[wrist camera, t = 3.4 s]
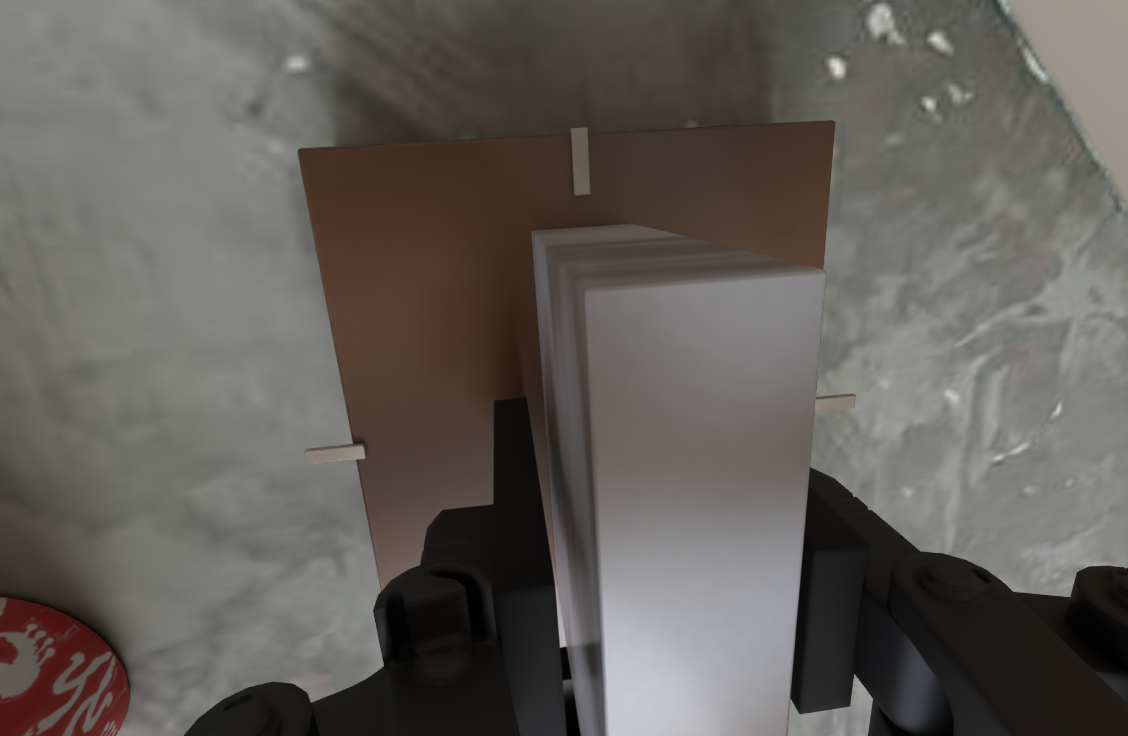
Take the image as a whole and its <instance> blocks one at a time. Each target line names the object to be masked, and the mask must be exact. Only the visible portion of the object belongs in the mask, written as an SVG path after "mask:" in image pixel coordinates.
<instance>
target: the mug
mask: <svg viewBox="0 0 1128 736" xmlns="http://www.w3.org/2000/svg"><path fill="white" fill-rule="evenodd" d="M128 705H129V687H128V681H127V676H126V674H125V670H124V668H123V666H122V665H121V664H120V661H119V659H118V658H117V656H116V655H115V654H114V652H113V651H112V649H111V648H110V647H109V645H107V644H106V643H105V642H104V641H103V640H102V639H101V638H100V637H99V636H98V635H97V634H96V633H94V632H93V631H92V630H91V629H89V628H88V627H86V626H85V625H84V624H82V623H81V622H79V621H77V620H75V619H74V618H72V617H70V616H68V615H66V614H64V613H62V612H59V611H57V610H55V609H52V608H49V607H46V606H43V605H40V604H36V603H32V602H28V601H24V600H18V599H13V598H6V597H0V736H116V734H117V733H118V731H119V729H120V727H121V725H122V723H123V721H124V719H125V716H126V714H127V710H128Z"/></svg>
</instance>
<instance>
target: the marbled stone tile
mask: <svg viewBox="0 0 1128 736" xmlns="http://www.w3.org/2000/svg"><path fill="white" fill-rule="evenodd" d="M532 246H533V260H534V273H535V287H536V300H537V314H538V327H539V340H540V354H541V367H542V381H543V394H544V408H545V421H546V435H547V448H548V461H549V475H550V488H551V502H552V515H553V529H554V542H555V555H556V569H557V582H558V594H559V601H560V607H561V613H562V620H563V626H564V632H565V639H566V645H567V651H568V658H569V664H570V670H571V677H572V683H573V689H574V696H575V702H576V708H577V715H578V721H579V727H580V734H581V736H787V731H788V719H789V707H790V695H791V683H792V671H793V660H794V648H795V636H796V624H797V612H798V601H799V589H800V577H801V565H802V553H803V542H804V530H805V518H806V506H807V494H808V483H809V471H810V459H811V447H812V435H813V423H814V412H815V400H816V388H817V376H818V364H819V353H820V341H821V329H822V317H823V305H824V294H825V282H826V272H825V271H824V270H822V269H819V268H815V267H811V266H807V265H802V264H798V263H794V262H790V261H786V260H782V259H777V258H773V257H769V256H765V255H761V254H757V253H752V252H748V251H744V250H740V249H736V248H731V247H727V246H723V245H719V244H715V243H711V242H706V241H702V240H698V239H694V238H690V237H686V236H681V235H677V234H673V233H669V232H665V231H661V230H656V229H652V228H648V227H644V226H640V225H635V224H623V225H608V226H594V227H579V228H565V229H550V230H535V231H532Z"/></svg>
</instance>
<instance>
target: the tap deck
mask: <svg viewBox="0 0 1128 736" xmlns="http://www.w3.org/2000/svg"><path fill="white" fill-rule="evenodd" d="M570 132H571V134H564V135H545V136H526V137H507V138H488V139H469V140H450V141H431V142H412V143H393V144H374V145H355V146H336V147H317V148H300V149H299V150H298V158H299V163H300V168H301V173H302V179H303V184H304V189H305V194H306V199H307V205H308V210H309V215H310V220H311V226H312V231H313V236H314V241H315V247H316V252H317V257H318V262H319V268H320V273H321V278H322V283H323V288H324V294H325V299H326V304H327V309H328V315H329V320H330V325H331V330H332V336H333V341H334V346H335V351H336V356H337V362H338V367H339V372H340V377H341V383H342V388H343V393H344V398H345V404H346V409H347V414H348V419H349V425H350V430H351V435H352V440H353V444H349V445H339V446H329V447H319V448H309V449H306V450H305V451H304V452H305V457H306V461H307V464H316V463H325V462H335V461H344V460H354V459H356V461H357V466H358V472H359V477H360V482H361V487H362V493H363V498H364V503H365V508H366V513H367V519H368V524H369V529H370V534H371V540H372V545H373V550H374V555H375V561H376V566H377V571H378V576H379V582H380V587H381V591H382V590H383V589H384V588H385V587H386V586H387V584H388V583H389V582H390V581H391V580H392V579H394V578H396V577H397V576H399V575H400V574H402V573H403V572H405V571H407V570H408V569H410V568H413V567H416V566H419V565H420V561H421V556H422V551H424V548H423V546H424V541H425V536H426V531H427V527H428V526H429V525H430V524H431V523H432V521H433V520H434V519H435V518H436V517H437V516H438V514H439V513H440V512H441V511H442V510H447V509H455V508H464V507H473V506H482V505H491V504H493V472H494V400H503V399H514V398H524V397H527V404H528V410H529V417H530V423H531V430H532V436H533V443H534V449H535V456H536V462H537V469H538V475H539V482H540V488H541V495H542V501H543V508H544V514H545V521H546V527H547V534H548V540H549V547H550V554H551V560H552V567H553V573H554V580H555V587H556V601H557V614H558V627H559V640H560V648H562V647H567V645H566V639H565V632H564V626H563V620H562V613H561V607H560V601H559V594H558V582H557V569H556V555H555V542H554V529H553V515H552V502H551V488H550V475H549V461H548V448H547V435H546V421H545V408H544V394H543V381H542V367H541V354H540V340H539V327H538V314H537V300H536V287H535V273H534V260H533V246H532V231H535V230H550V229H565V228H579V227H594V226H608V225H623V224H635V225H640V226H644V227H648V228H652V229H656V230H661V231H665V232H669V233H673V234H677V235H681V236H686V237H690V238H694V239H698V240H702V241H706V242H711V243H715V244H719V245H723V246H727V247H731V248H736V249H740V250H744V251H748V252H752V253H757V254H761V255H765V256H769V257H773V258H777V259H782V260H786V261H790V262H794V263H798V264H802V265H807V266H811V267H815V268H819V269H822V270H823V264H824V252H825V240H826V228H827V216H828V204H829V192H830V180H831V168H832V156H833V144H834V132H835V122H834V121H832V120H829V121H810V122H791V123H772V124H753V125H734V126H715V127H696V128H677V129H658V130H639V131H620V132H602V133H588V129H587V127H585V128H571V129H570ZM855 400H856V395H854V394H843V395H833V396H823V397H816V400H815V412H817V411H827V410H836V409H846V408H854V407H855Z"/></svg>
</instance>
